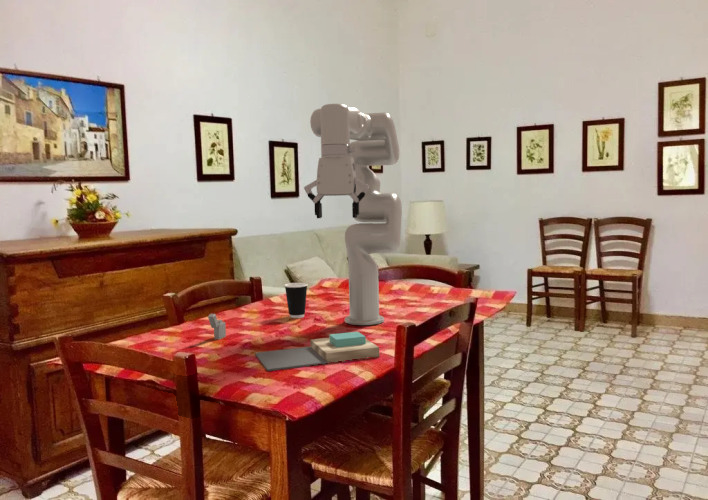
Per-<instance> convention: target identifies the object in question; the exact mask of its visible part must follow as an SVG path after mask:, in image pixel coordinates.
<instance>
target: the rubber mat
mask: <svg viewBox="0 0 708 500" xmlns="http://www.w3.org/2000/svg"><path fill="white" fill-rule="evenodd" d="M254 354H255V356H256V357H257V359H258V360H259V362H260V363H261V364H262V366H263V367H264V368H265V370H266V371H267V372H272V371H280V370H281V369H282V370H291V369H297V368H304V367H303V366H306V367H311V366H310V365H314V366H319V365H318V364H322V365H327V364H326V363H328V362H327V361H326V360H325V359H324V358H323V357H322V356H320V355H319V354H318V353H317V352H316V351H315V350H314V349H312V348H311V346H304V347H303V346H302V347H294V348H284V349H276V350H268V351H267V350H266V351H259V352H254ZM328 364H329V363H328Z"/></svg>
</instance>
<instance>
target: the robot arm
mask: <svg viewBox="0 0 708 500" xmlns="http://www.w3.org/2000/svg"><path fill="white" fill-rule="evenodd" d="M309 120H310V122H309V124H310V128H311V130H312V132H313V134H314V135H315V137H318V138H320V151H321V153H320V154H321V157H319V158H318V162H317V163H318V164H317V170H316V180H313V181H312V182H310V183H308V184H307V185H306V186H304V187H303V190H304V191H305V194H306V195H307V197H308V198H309V199H310V200H311V201H312V203H313V204H314V215H315V216H316V219H321V218H323V204H322V202H321V201H322V200H323V198H324V197H325V196H329V197H330V196H349V197H350V198H351V199H352V206H351V207H352V209H351V210H352V212H351V213H352V218H353V219H354V220H355V221H356V222H360V223H353V224H351V225H349V226H348V227H347V228H346V229H345V232H344V242H345V248H346V254H347V263H348V265H347V266H348V294H349V295H348V297H349V298H348V299H349V301H348V303H349V305H348V306H349V315H347V316H346V317H345V318H344V322H345V323H346V324H348V325H352V326H373V325H378V324H381V323H383V322H384V321H385V317H384V316H382V315H380V304H379V303H380V301H379V300H380V299H379V298H380V296H379V294H380V293H379V292H380V291H379V290H380V288H379V286H380V285H379V266H378V264H377V262H376V260H375V259H374V258H373V256H372V254H394V253H396V252H398V250H399V248H400V244H401V232H402V231H401V229H402V228H401V227H402V211H403V210H402V201H401V199H400V197H399V195H397V193H393V192H381V181H380V178H379V177H378V176H377V173H375V172H374V171H373V170H372V169H370V168H369V167H371V166H376V167H377V166H393V165H395V164H396V163H397V162H399V161H398V160H399V158H400V147H399V141H398V136H397V130H396V126H395V122H394V119H393V118H392V116H391V115H390V114H389V113H387V112H367V113H364V112H361V110H359V109H358V108H357V107H354V106H353V107H352V106H348V105H346V104H344V103H327V104H324V105H322V106H321V108H318V109H315V110H314V111H313V112H312V113H311V116H310V119H309ZM350 140H353V141H350ZM315 187H316V195H315V194H314V193H313V191H312V189H313V188H315Z"/></svg>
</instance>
